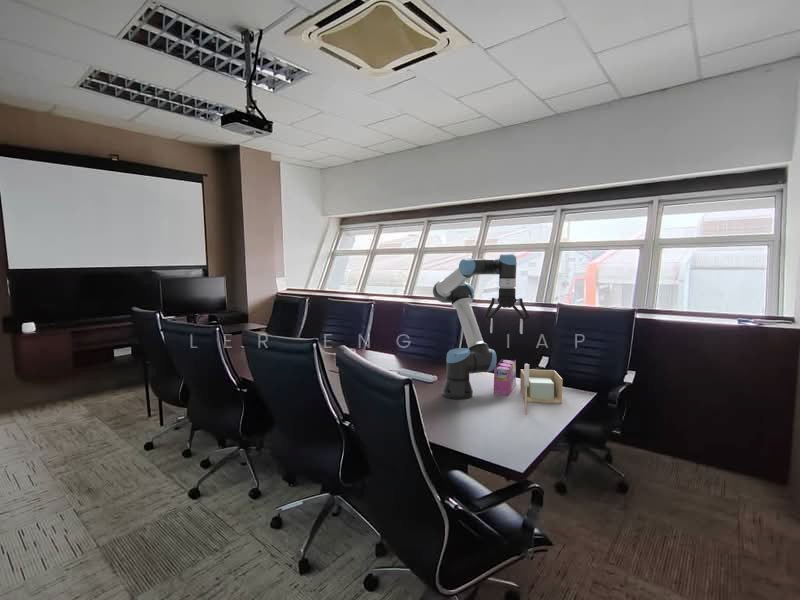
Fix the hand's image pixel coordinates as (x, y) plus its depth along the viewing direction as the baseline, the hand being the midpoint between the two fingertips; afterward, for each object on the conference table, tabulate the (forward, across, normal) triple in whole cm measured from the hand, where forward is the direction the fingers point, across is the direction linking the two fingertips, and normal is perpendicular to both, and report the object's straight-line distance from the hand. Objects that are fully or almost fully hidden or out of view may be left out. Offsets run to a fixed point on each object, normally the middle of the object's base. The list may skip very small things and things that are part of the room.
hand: (506, 333), depth 185 cm
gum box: (+35, +3, +26) cm, 44 cm away
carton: (+35, +19, +14) cm, 42 cm away
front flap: (+34, +9, -3) cm, 36 cm away
